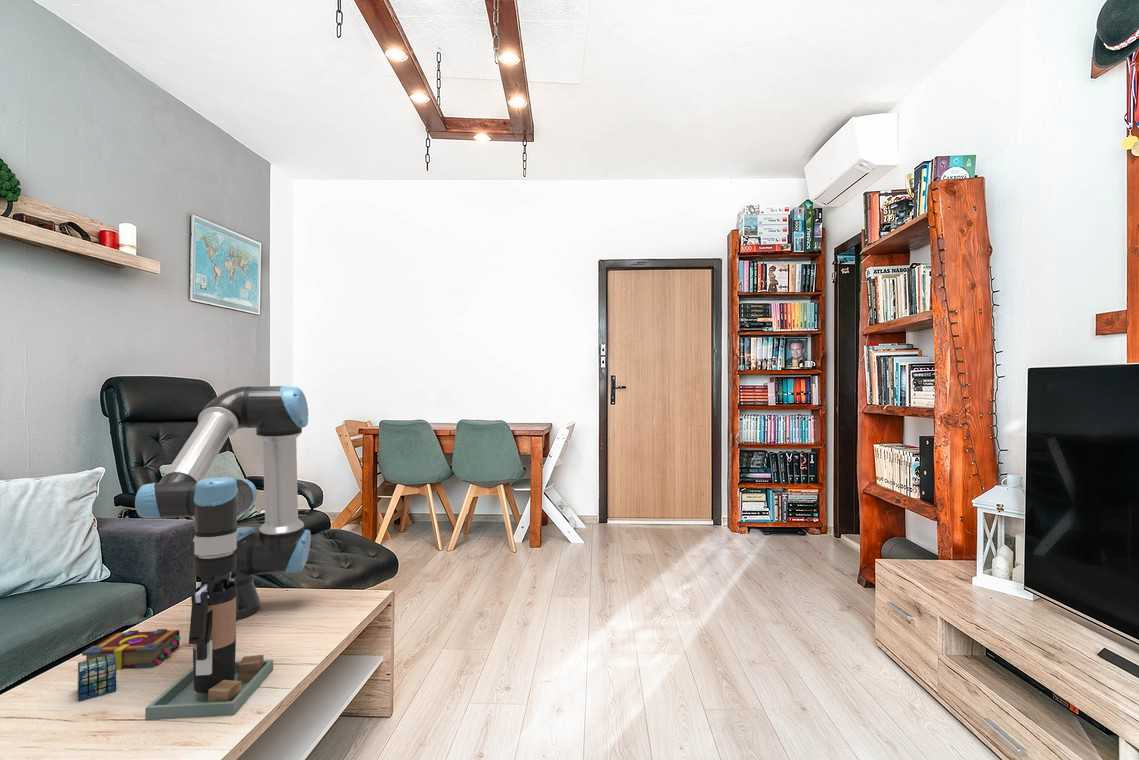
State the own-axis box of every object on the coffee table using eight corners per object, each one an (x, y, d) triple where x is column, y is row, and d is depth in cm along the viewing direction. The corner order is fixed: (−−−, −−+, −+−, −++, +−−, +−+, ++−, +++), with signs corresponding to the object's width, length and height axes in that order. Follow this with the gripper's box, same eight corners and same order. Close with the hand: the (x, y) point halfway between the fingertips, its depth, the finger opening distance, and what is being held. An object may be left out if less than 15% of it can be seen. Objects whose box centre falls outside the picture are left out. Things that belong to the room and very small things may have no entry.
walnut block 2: (243, 675, 126) (243, 656, 126) (263, 672, 127) (263, 654, 127) (238, 684, 122) (238, 665, 122) (258, 681, 123) (258, 662, 123)
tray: (197, 676, 127) (197, 663, 127) (273, 673, 128) (273, 659, 128) (145, 723, 109) (145, 707, 109) (233, 719, 110) (234, 703, 111)
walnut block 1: (223, 699, 116) (223, 679, 116) (241, 701, 115) (241, 681, 115) (208, 710, 112) (208, 689, 112) (226, 712, 111) (226, 691, 111)
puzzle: (116, 691, 121) (116, 662, 121) (78, 702, 117) (79, 672, 117) (113, 680, 125) (114, 653, 125) (77, 690, 121) (78, 662, 121)
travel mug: (215, 696, 114) (216, 595, 115) (182, 692, 116) (183, 592, 116) (244, 677, 122) (245, 582, 122) (213, 673, 123) (214, 580, 124)
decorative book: (115, 650, 141) (115, 629, 141) (185, 646, 143) (185, 626, 143) (81, 672, 130) (81, 650, 130) (158, 668, 131) (158, 646, 131)
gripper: (221, 541, 129) (220, 643, 129) (166, 569, 109) (165, 691, 108) (256, 540, 130) (256, 641, 129) (208, 568, 109) (207, 689, 109)
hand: (214, 664), depth 119 cm, fingers closed on travel mug, 8 cm apart
